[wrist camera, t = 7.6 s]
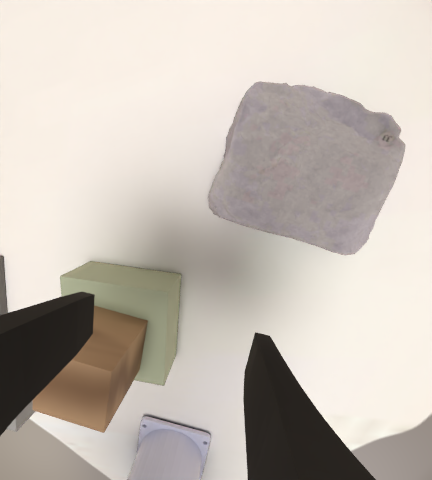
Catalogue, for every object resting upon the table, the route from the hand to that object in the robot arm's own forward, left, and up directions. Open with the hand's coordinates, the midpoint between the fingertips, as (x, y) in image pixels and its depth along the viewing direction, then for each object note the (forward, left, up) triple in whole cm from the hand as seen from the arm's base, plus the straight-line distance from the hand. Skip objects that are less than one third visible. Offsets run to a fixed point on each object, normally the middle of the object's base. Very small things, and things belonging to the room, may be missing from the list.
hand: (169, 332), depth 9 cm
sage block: (-7, +6, -11) cm, 14 cm away
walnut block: (-7, +6, -7) cm, 12 cm away
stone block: (+9, -6, -11) cm, 15 cm away
